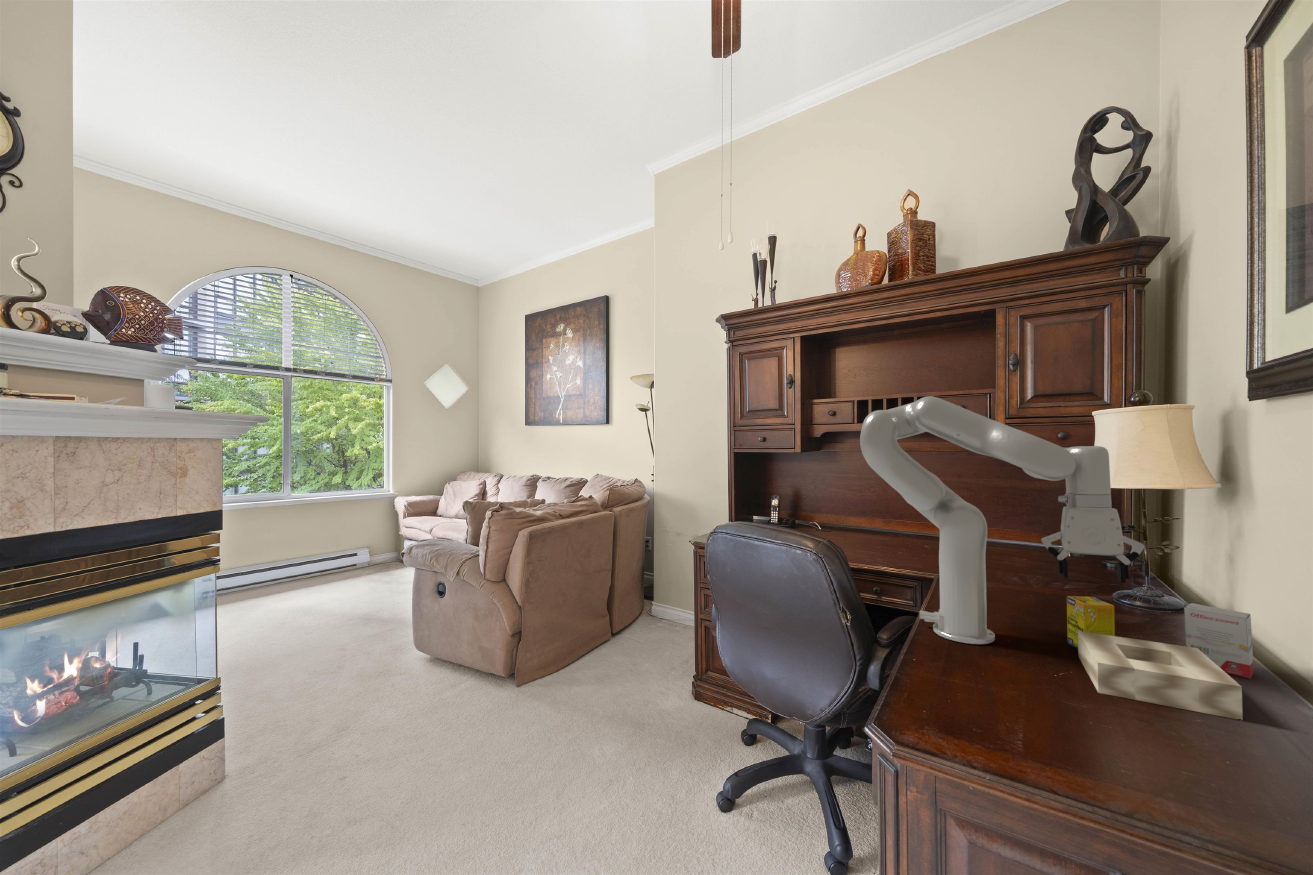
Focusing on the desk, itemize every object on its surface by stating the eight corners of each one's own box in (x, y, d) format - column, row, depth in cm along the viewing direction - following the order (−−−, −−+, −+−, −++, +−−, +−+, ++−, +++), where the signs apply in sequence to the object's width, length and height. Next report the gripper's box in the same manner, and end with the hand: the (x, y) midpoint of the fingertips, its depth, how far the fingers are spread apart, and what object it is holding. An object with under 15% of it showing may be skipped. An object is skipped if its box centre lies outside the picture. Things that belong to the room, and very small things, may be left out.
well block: (1098, 692, 91) (1097, 662, 91) (1078, 656, 106) (1078, 630, 107) (1242, 720, 82) (1241, 686, 82) (1198, 676, 97) (1197, 648, 97)
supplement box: (1066, 643, 113) (1065, 595, 114) (1096, 645, 113) (1095, 596, 113) (1084, 654, 108) (1083, 603, 108) (1116, 656, 107) (1115, 604, 107)
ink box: (1254, 673, 98) (1253, 613, 98) (1250, 680, 95) (1248, 618, 96) (1190, 657, 106) (1189, 601, 106) (1185, 663, 103) (1183, 606, 103)
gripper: (1041, 502, 112) (1045, 579, 111) (1147, 504, 103) (1151, 588, 102) (1037, 499, 118) (1041, 571, 118) (1136, 501, 109) (1140, 579, 109)
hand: (1092, 579), depth 110 cm, fingers open, 9 cm apart
